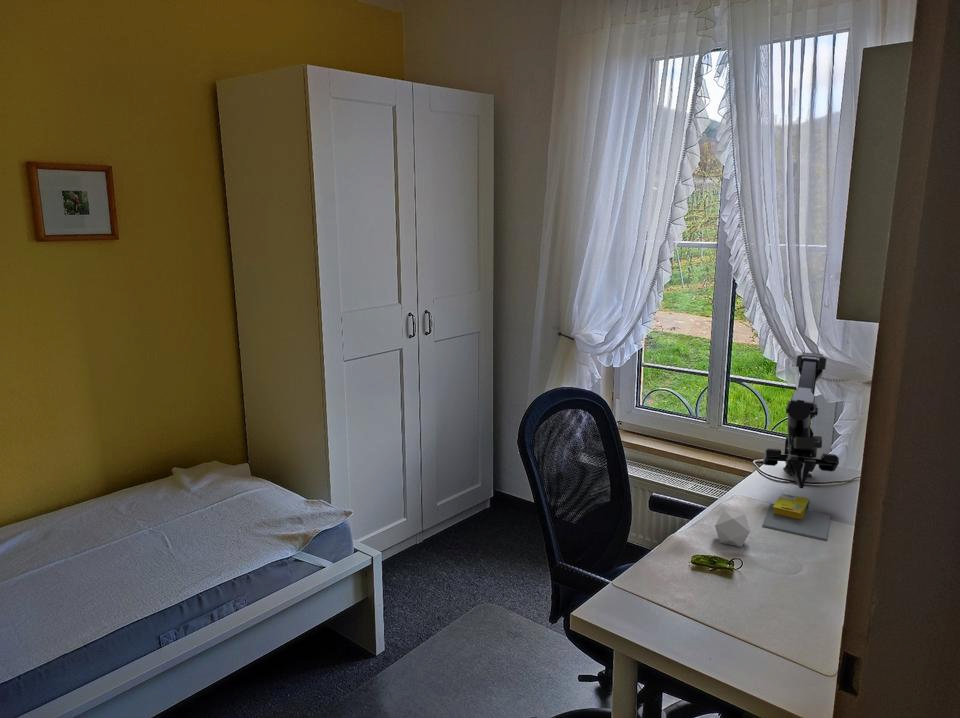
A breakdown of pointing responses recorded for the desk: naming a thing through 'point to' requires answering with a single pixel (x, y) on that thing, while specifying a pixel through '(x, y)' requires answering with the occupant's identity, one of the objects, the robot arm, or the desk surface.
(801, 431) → the robot arm
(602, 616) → the desk surface
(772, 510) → the desk pad
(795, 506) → the crayon box
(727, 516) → the die
